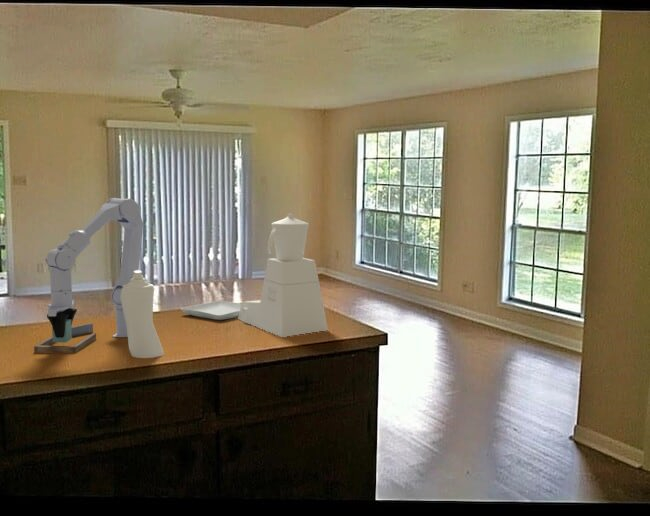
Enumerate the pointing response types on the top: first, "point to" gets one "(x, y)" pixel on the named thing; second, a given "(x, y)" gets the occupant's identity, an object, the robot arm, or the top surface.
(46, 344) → the bay
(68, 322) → the teal block
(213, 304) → the salad plate
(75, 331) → the gate
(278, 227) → the blender
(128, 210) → the robot arm
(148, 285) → the white bottle
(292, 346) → the top surface
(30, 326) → the top surface
